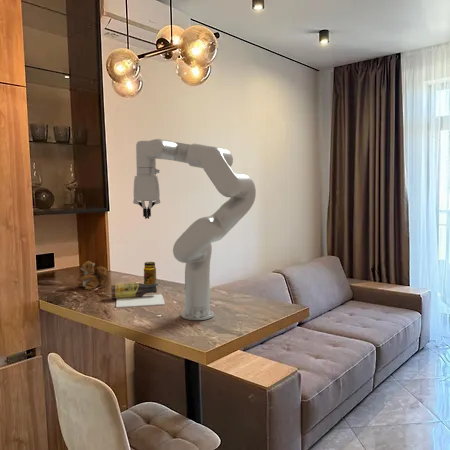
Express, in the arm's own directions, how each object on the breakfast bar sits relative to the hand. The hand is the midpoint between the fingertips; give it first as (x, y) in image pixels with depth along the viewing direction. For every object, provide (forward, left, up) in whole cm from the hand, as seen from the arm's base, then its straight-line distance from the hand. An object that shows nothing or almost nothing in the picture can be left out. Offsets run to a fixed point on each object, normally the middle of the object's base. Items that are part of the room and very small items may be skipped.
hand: (147, 218), depth 170 cm
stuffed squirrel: (+46, +25, -37) cm, 64 cm away
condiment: (+41, -3, -37) cm, 56 cm away
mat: (+12, +3, -37) cm, 39 cm away
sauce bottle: (+18, +16, -34) cm, 42 cm away
